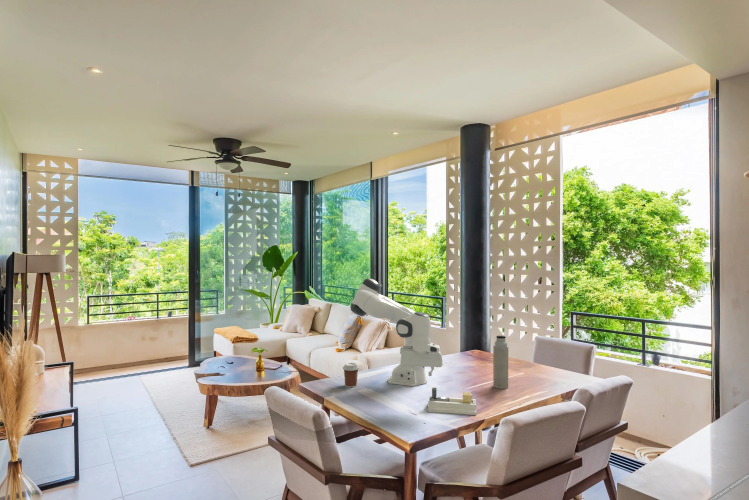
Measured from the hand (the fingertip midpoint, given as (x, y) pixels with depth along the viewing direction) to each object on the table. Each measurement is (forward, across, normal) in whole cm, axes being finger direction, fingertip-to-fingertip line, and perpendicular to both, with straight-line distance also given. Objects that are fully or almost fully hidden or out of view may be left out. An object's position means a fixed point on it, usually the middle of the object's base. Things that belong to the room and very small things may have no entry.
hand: (421, 375), depth 212 cm
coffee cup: (+15, -41, +26) cm, 51 cm away
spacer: (+14, +22, 0) cm, 26 cm away
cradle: (+15, +15, 0) cm, 21 cm away
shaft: (+13, +9, 0) cm, 16 cm away
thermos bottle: (+15, +41, +41) cm, 60 cm away
